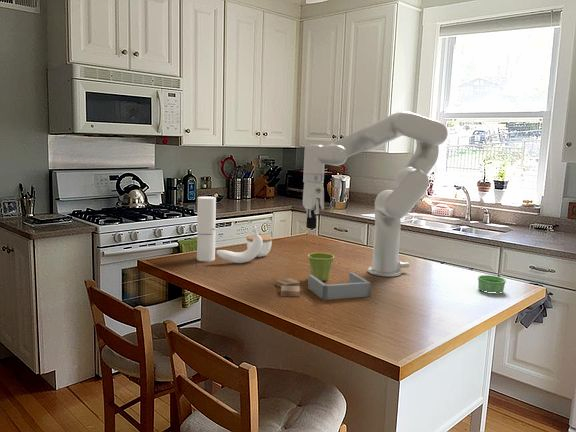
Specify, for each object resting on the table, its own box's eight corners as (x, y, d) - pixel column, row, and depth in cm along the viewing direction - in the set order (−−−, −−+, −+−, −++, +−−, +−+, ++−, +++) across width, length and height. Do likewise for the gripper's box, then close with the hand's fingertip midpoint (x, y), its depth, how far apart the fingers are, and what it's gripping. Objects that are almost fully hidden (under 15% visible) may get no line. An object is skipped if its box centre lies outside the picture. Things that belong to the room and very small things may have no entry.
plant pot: (331, 284, 180) (332, 259, 179) (304, 281, 182) (305, 257, 181) (334, 277, 189) (335, 253, 188) (309, 274, 191) (310, 251, 190)
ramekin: (487, 295, 174) (488, 282, 173) (471, 287, 182) (472, 275, 182) (510, 294, 176) (511, 281, 175) (493, 286, 185) (494, 274, 184)
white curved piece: (215, 263, 202) (215, 226, 200) (258, 259, 212) (259, 223, 210) (220, 266, 198) (220, 228, 196) (264, 261, 208) (265, 225, 206)
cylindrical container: (218, 259, 210) (219, 197, 206) (206, 262, 204) (207, 199, 200) (205, 256, 213) (205, 196, 210) (193, 259, 207) (193, 197, 204)
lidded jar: (240, 255, 218) (241, 233, 216) (256, 251, 226) (257, 230, 225) (261, 259, 212) (261, 236, 210) (276, 255, 220) (277, 233, 219)
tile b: (299, 292, 171) (299, 286, 171) (299, 297, 165) (299, 291, 165) (281, 291, 171) (281, 285, 171) (280, 296, 165) (280, 290, 165)
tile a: (289, 283, 180) (289, 277, 180) (300, 287, 176) (300, 282, 175) (275, 286, 177) (275, 280, 177) (285, 290, 172) (285, 284, 172)
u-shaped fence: (351, 284, 180) (352, 272, 179) (370, 296, 168) (371, 282, 167) (308, 287, 174) (308, 274, 174) (323, 300, 162) (324, 286, 161)
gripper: (331, 180, 184) (328, 231, 187) (315, 176, 198) (312, 224, 200) (311, 180, 181) (309, 231, 184) (296, 176, 195) (294, 224, 198)
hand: (311, 227), depth 192 cm, fingers closed
